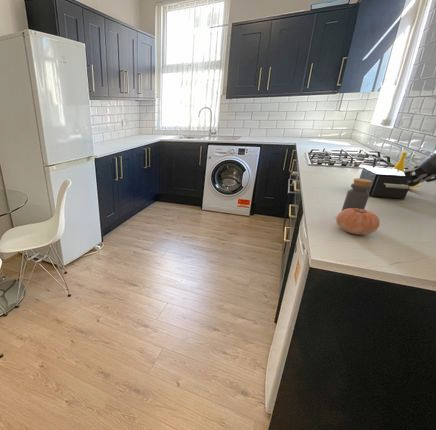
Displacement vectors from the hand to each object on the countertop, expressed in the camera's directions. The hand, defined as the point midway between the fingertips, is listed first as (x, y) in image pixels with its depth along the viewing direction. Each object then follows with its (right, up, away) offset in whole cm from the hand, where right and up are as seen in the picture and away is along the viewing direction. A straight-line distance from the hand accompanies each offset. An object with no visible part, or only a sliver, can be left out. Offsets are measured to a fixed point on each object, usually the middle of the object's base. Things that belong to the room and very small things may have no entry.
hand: (410, 184), depth 109 cm
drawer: (+6, -2, +17) cm, 18 cm away
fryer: (+8, -2, +21) cm, 23 cm away
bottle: (-31, -14, -9) cm, 35 cm away
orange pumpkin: (-37, -18, -17) cm, 45 cm away
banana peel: (+22, +3, +32) cm, 39 cm away
